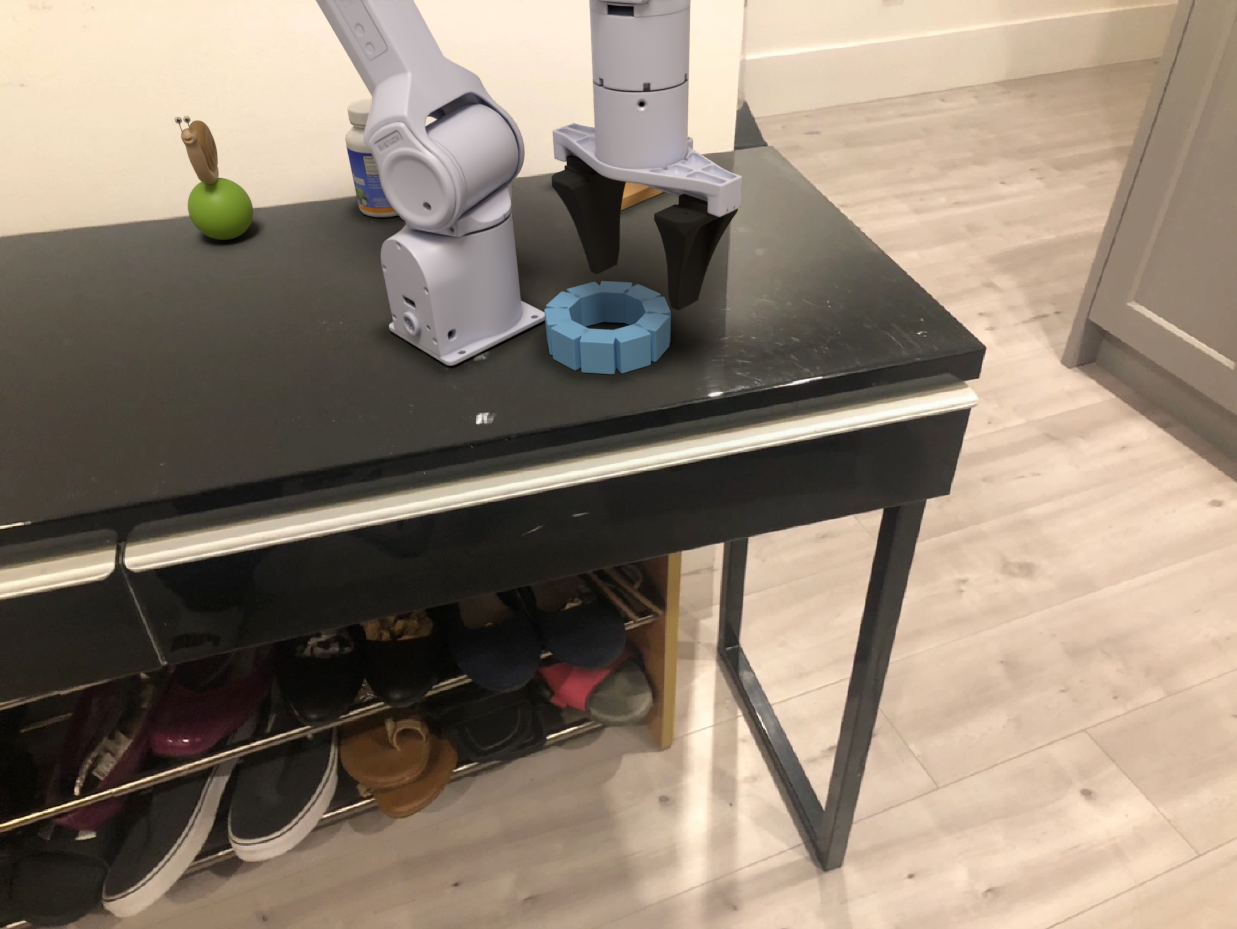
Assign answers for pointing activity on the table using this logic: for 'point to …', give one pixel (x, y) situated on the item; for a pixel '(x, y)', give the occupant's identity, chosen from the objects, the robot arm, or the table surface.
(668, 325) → the segmented ring
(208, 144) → the snail figurine
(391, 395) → the table surface
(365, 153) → the pill bottle
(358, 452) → the table surface
